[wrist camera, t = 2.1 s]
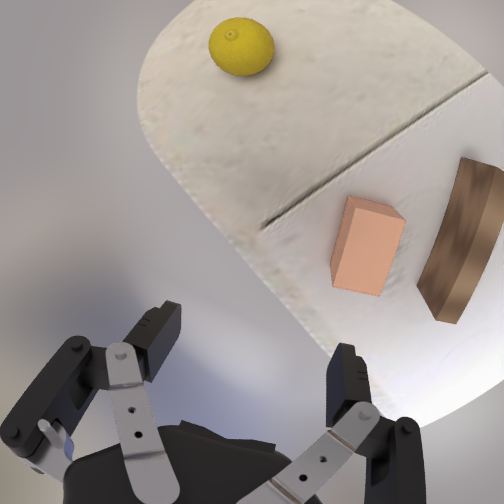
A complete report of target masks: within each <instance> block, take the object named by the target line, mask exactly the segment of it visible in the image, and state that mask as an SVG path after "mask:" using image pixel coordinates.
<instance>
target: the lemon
mask: <svg viewBox="0 0 504 504" xmlns="http://www.w3.org/2000/svg"><path fill="white" fill-rule="evenodd" d="M209 51H210V54H211V57H212V59H213V60H214V62H215V63H216V65H217V66H219V67H220V68H221V69H222V70H224V71H226V72H228V73H230V74H233V75H238V76H248V75H252V74H256V73H258V72H260V71H262V70H263V69H264V68H265V67H266V66H267V65H268V64H269V63H270V61H271V59H272V57H273V54H274V43H273V38H272V36H271V35H270V33H269V31H268V30H267V29H266V28H265V27H264V26H263V25H261V24H260V23H258V22H256V21H254V20H252V19H248V18H231V19H228V20H226V21H223V22H222V23H220V24H219V25H218V26H217V27H216V28H215V29H214V30H213V32H212V34H211V35H210V39H209Z"/></svg>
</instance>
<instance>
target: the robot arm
mask: <svg viewBox="0 0 504 504" xmlns="http://www.w3.org/2000/svg"><path fill="white" fill-rule="evenodd" d="M180 330H181V305H180V304H177V303H174V302H171V301H165V303H164V304H163V305H162V306H161V308H157V307H154V308H152V309H150V310H148V311H147V312H146V313H145V314H144V315H143V317H142V319H140V320H139V322H138V323H137V324H136V325H135V326H134V328H133V329H132V330H131V331H130V333H129V334H128V335H127V336H126V338H125V339H124V340H123V341H122V342H116V343H113V344H111V345H110V346H109V347H108V348H102V347H95V346H91V344H90V341H89V340H88V339H87V338H86V337H83V336H73V337H70V338H69V339H67V340H66V341H65V342H64V344H63V345H62V346H61V347H60V348H59V350H58V351H57V352H56V353H55V354H54V356H53V357H52V358H51V359H50V360H49V362H48V363H47V364H46V365H45V367H44V368H43V369H42V370H41V372H40V373H39V374H38V375H37V377H36V378H35V379H34V381H33V382H32V383H31V385H30V386H29V387H28V388H27V390H26V391H25V392H24V394H23V395H22V396H21V398H20V399H19V400H18V402H17V403H16V404H15V406H14V407H13V408H12V410H11V411H10V413H9V414H8V416H7V417H6V418H5V420H4V421H3V423H2V424H1V427H0V437H1V439H2V441H3V442H4V443H5V444H6V445H7V446H8V447H9V448H10V449H11V450H12V452H13V453H14V454H15V455H16V456H17V457H18V458H19V459H20V460H22V461H23V462H24V463H25V464H26V465H28V466H29V467H31V468H32V469H33V470H34V471H36V472H38V473H40V474H46V475H48V476H49V477H51V478H52V479H54V480H55V481H57V482H59V483H60V484H62V485H63V489H64V499H63V504H322V503H321V501H320V500H319V498H318V497H317V495H316V494H315V493H316V492H317V491H318V490H319V489H320V488H321V487H322V486H323V485H324V484H325V483H326V482H327V481H328V480H329V479H330V478H331V477H332V476H333V475H334V474H335V473H336V472H337V471H338V470H339V469H340V468H341V467H342V466H343V464H344V463H345V462H346V461H347V460H348V459H349V458H350V457H351V456H352V454H353V453H357V454H359V455H362V456H365V457H366V484H365V499H364V504H426V484H425V471H424V459H423V450H422V442H421V434H420V428H419V425H418V424H417V422H416V421H415V420H413V419H412V418H409V417H401V418H399V419H398V420H397V421H396V422H395V421H392V420H390V419H387V418H384V417H382V416H380V414H379V411H378V409H377V408H376V407H375V406H374V405H373V404H372V401H371V393H370V386H369V381H368V374H367V366H366V363H365V362H364V360H363V359H362V357H360V356H356V353H355V347H354V345H350V344H344V343H339V344H338V346H337V348H336V350H335V352H334V354H333V356H332V358H331V361H330V362H329V365H328V368H327V373H326V387H327V388H326V427H331V428H332V429H330V430H328V431H327V432H326V433H324V435H322V436H321V437H320V438H319V439H318V440H317V441H316V442H315V443H314V444H313V445H312V446H310V447H309V448H308V449H307V450H306V451H305V452H304V453H302V454H301V455H300V456H299V457H298V458H297V459H296V460H294V461H293V462H292V461H291V460H290V459H289V458H288V457H286V456H285V455H284V454H282V453H280V452H278V451H276V450H275V446H276V444H272V443H266V442H262V441H257V440H243V439H226V438H224V437H222V436H220V435H218V434H216V433H214V432H212V431H210V430H208V429H206V428H205V427H202V426H199V425H196V424H192V423H189V422H186V421H183V420H181V423H180V425H179V426H178V425H167V426H160V427H157V426H156V423H155V420H154V417H153V414H152V411H151V407H150V404H149V401H148V397H147V394H146V390H145V386H144V383H143V382H144V380H146V381H148V382H151V383H152V381H153V379H154V377H155V376H156V374H157V373H158V371H159V369H160V367H161V366H162V364H163V362H164V360H165V359H166V357H167V355H168V354H169V352H170V351H171V349H172V347H173V346H174V344H175V342H176V340H177V339H178V337H179V334H180ZM99 389H103V390H109V391H110V397H111V403H112V408H113V413H114V418H115V422H116V427H117V432H118V436H119V440H120V443H118V444H116V445H113V446H111V447H108V448H106V449H103V450H101V451H98V452H95V453H92V454H90V455H87V456H84V457H81V458H79V459H76V460H75V461H73V460H72V454H73V451H74V443H73V441H72V439H71V438H70V437H71V435H72V434H73V432H74V430H75V428H76V427H77V425H78V423H79V421H80V420H81V418H82V416H83V415H84V413H85V411H86V410H87V408H88V406H89V405H90V403H91V401H92V400H93V398H94V396H95V395H96V393H97V392H98V390H99Z"/></svg>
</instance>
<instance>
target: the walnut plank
mask: <svg viewBox="0 0 504 504" xmlns="http://www.w3.org/2000/svg"><path fill="white" fill-rule="evenodd" d="M503 221H504V171H502V170H501V169H499V168H497V167H495V166H492V165H488V164H485V163H481V162H478V161H474V160H470V159H467V158H463V157H461V160H460V165H459V169H458V172H457V176H456V180H455V184H454V187H453V191H452V194H451V197H450V201H449V204H448V207H447V210H446V213H445V216H444V219H443V222H442V225H441V228H440V230H439V233H438V236H437V238H436V241H435V244H434V246H433V249H432V251H431V254H430V256H429V259H428V261H427V264H426V266H425V268H424V271H423V273H422V275H421V277H420V280H419V282H418V284H417V287H418V289H419V291H420V293H421V294H422V296H423V298H424V300H425V302H426V303H427V305H428V307H429V309H430V311H431V313H432V314H433V316H434V318H435V320H437V321H442V322H447V323H452V324H456V323H457V322H458V320H459V318H460V316H461V315H462V313H463V311H464V309H465V307H466V306H467V304H468V302H469V300H470V298H471V296H472V294H473V292H474V290H475V288H476V286H477V284H478V282H479V280H480V278H481V276H482V274H483V271H484V269H485V267H486V265H487V262H488V260H489V258H490V255H491V253H492V250H493V248H494V245H495V243H496V240H497V238H498V235H499V232H500V229H501V227H502V224H503Z"/></svg>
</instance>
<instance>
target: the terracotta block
mask: <svg viewBox="0 0 504 504" xmlns="http://www.w3.org/2000/svg"><path fill="white" fill-rule="evenodd" d="M405 223H406V220H405V219H404V218H403V217H402V216H401V215H400V214H399V213H398V212H397V211H396V210H395V209H394V208H393V207H391V206H387V205H384V204H380V203H376V202H372V201H368V200H365V199H361V198H357V197H353V196H349V195H348V198H347V202H346V206H345V211H344V215H343V218H342V222H341V226H340V230H339V234H338V238H337V241H336V245H335V248H334V252H333V256H332V259H331V263H330V270H331V278H332V286H333V287H336V288H341V289H346V290H350V291H355V292H360V293H365V294H370V295H375V296H380V293H381V291H382V288H383V286H384V283H385V281H386V278H387V275H388V273H389V270H390V267H391V265H392V262H393V259H394V256H395V254H396V251H397V248H398V245H399V242H400V239H401V236H402V233H403V230H404V226H405Z"/></svg>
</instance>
